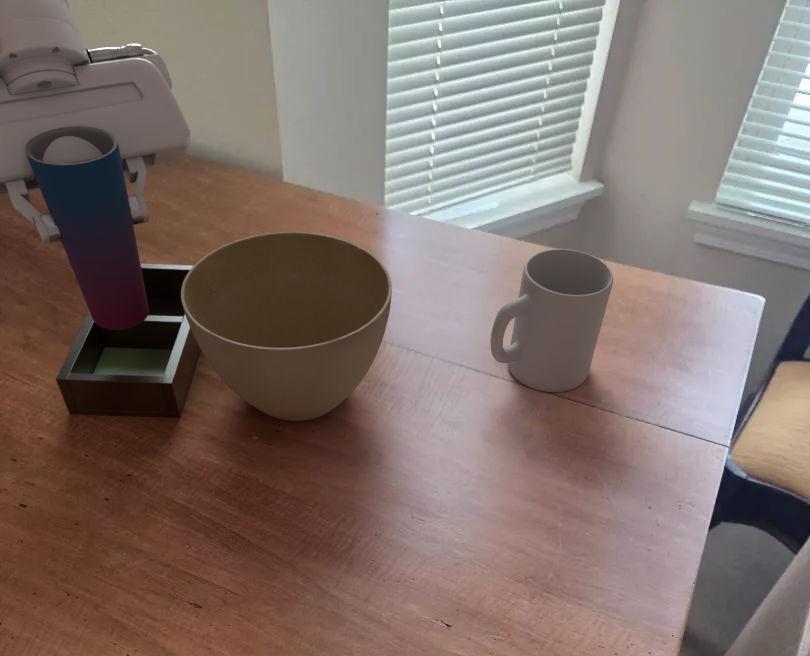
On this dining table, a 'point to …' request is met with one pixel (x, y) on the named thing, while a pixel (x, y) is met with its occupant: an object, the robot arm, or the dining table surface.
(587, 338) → the mug
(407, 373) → the dining table surface
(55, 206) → the cup
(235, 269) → the beige bowl
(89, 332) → the divided storage box
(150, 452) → the dining table surface
